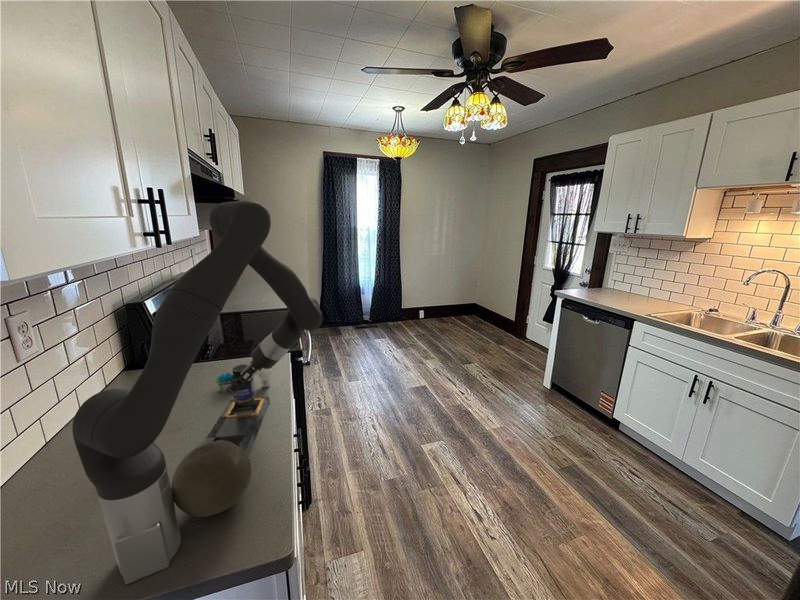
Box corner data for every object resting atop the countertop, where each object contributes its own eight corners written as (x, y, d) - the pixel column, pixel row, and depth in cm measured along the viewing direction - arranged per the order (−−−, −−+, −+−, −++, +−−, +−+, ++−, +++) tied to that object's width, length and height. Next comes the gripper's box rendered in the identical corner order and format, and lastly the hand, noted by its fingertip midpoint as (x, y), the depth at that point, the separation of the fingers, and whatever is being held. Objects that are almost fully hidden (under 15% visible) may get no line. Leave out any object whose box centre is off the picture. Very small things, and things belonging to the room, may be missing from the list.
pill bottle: (231, 406, 95) (227, 373, 92) (236, 395, 101) (231, 364, 98) (254, 403, 97) (249, 371, 94) (257, 393, 103) (253, 362, 100)
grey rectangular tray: (243, 466, 80) (242, 457, 79) (191, 472, 78) (190, 462, 77) (269, 403, 106) (269, 396, 106) (231, 406, 105) (230, 398, 104)
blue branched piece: (253, 376, 120) (242, 368, 111) (252, 392, 117) (241, 385, 109) (223, 381, 119) (209, 374, 110) (222, 397, 116) (207, 390, 108)
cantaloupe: (194, 486, 74) (184, 431, 70) (259, 476, 77) (253, 423, 73) (166, 545, 61) (152, 482, 57) (246, 531, 64) (237, 469, 60)
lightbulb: (252, 388, 115) (249, 360, 112) (267, 380, 121) (264, 354, 118) (265, 392, 113) (262, 364, 110) (279, 384, 118) (276, 357, 115)
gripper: (271, 332, 101) (239, 365, 104) (251, 351, 87) (213, 389, 90) (289, 348, 102) (256, 380, 105) (272, 369, 88) (234, 405, 91)
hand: (237, 384), depth 98 cm, fingers closed on pill bottle, 6 cm apart
